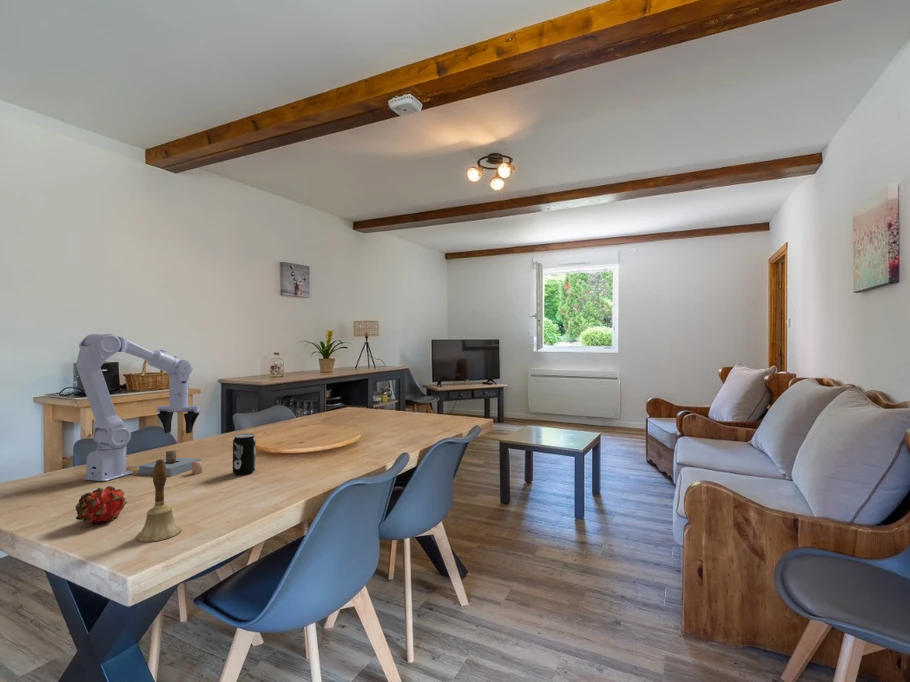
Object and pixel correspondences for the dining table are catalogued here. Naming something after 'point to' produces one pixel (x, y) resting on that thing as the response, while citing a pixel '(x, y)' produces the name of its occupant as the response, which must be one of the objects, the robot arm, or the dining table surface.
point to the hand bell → (159, 511)
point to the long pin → (170, 457)
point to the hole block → (170, 466)
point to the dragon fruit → (100, 505)
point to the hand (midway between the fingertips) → (178, 432)
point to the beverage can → (244, 454)
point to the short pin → (197, 467)
